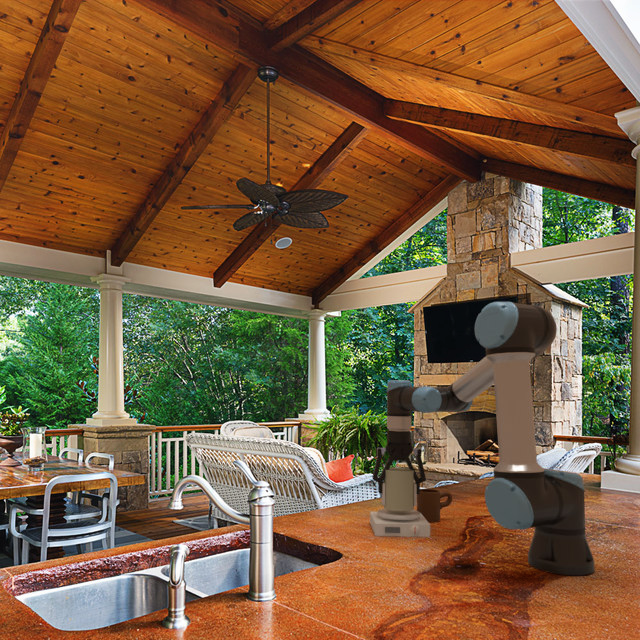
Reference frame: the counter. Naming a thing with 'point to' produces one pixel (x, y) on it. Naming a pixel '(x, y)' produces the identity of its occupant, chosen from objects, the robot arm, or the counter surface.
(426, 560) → the counter surface
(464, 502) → the counter surface
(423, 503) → the mug
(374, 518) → the scale
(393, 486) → the can
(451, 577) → the counter surface
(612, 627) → the counter surface
